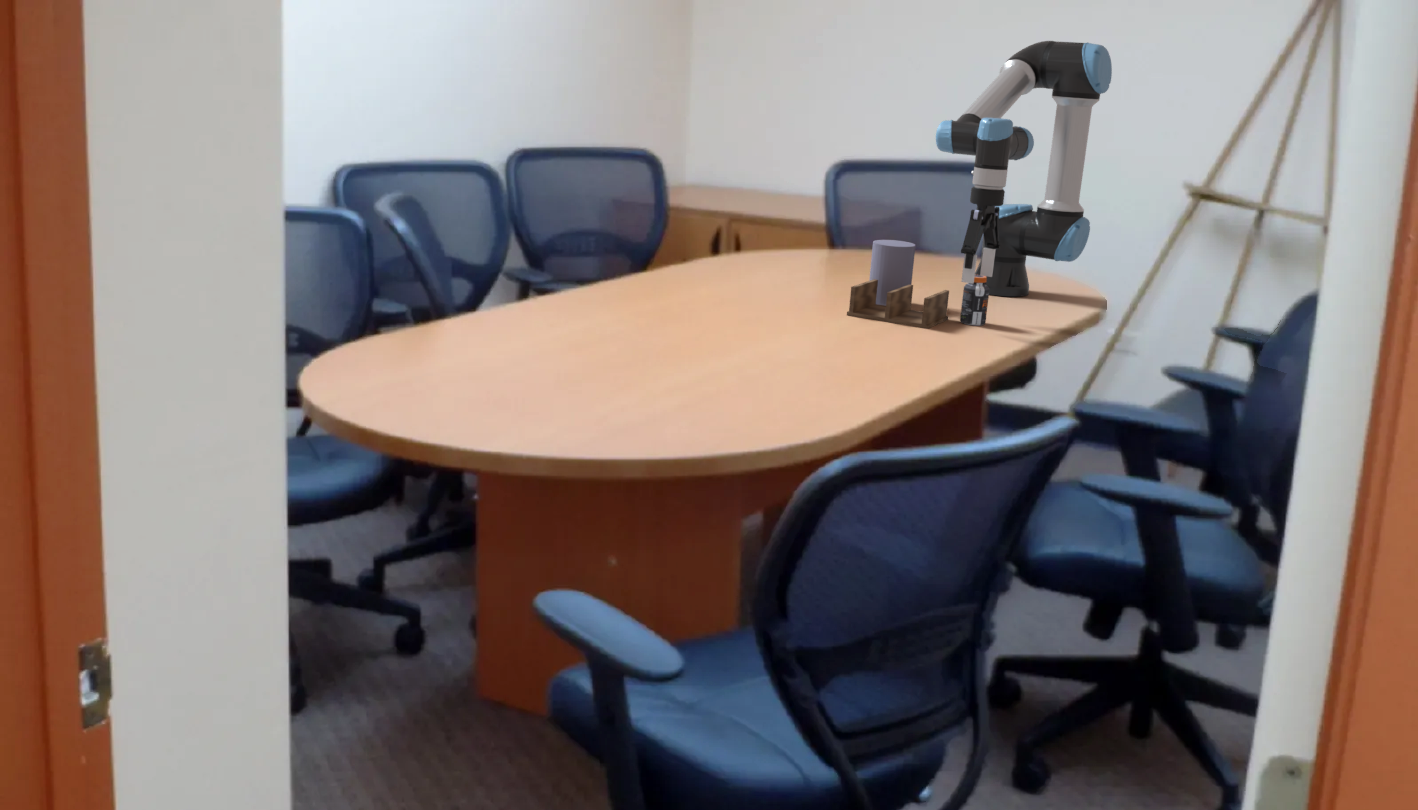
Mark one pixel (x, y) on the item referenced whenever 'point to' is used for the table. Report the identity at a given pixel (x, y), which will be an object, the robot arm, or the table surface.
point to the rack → (897, 306)
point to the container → (891, 266)
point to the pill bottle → (975, 302)
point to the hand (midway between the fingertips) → (976, 279)
